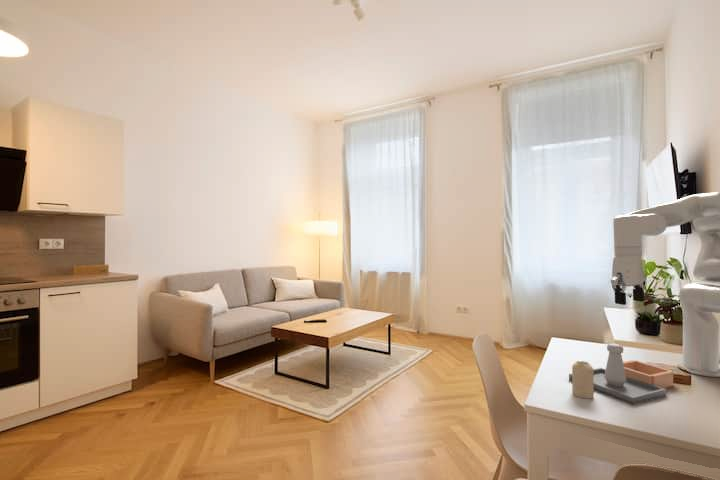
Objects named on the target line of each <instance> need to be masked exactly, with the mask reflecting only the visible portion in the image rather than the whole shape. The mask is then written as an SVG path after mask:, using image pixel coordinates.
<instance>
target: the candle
mask: <svg viewBox="0 0 720 480" xmlns="http://www.w3.org/2000/svg"><path fill="white" fill-rule="evenodd" d="M571 367H572V372H571V373H572V381H571V383H572V384H571V385H572V388H571V389H572V394H573V395H574V396H575V397H577V398H582V399H587V400H588V399H589V400H590V399H593V398H594V393H595V390H594V369H595V368H594V367H593V366H592V365H591V364H590V363H589V362H587V361H584V360H583V361H579V360H577V361H576V362H574V363H573V364H572V366H571Z"/></svg>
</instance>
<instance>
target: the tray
mask: <svg viewBox="0 0 720 480" xmlns="http://www.w3.org/2000/svg"><path fill="white" fill-rule="evenodd" d="M593 369H594V391H596V392H598V393H602V394H605V395H607V396H609V397H612V398H614V399H617V400H619V401H621V402H624V403H627V404H630V405H632V406H633V405H637V404H641V403H645V402H648V401H649V402H650V401H653V400H656V399H659V398H663V397H666V396H667V388H661V387H658V386H655V385H652V384H648V383H645V382H642V381H639V380H636V379H633V378H630V377H627V376H626V382H625V383H624V385H623V386H622V387H614V386H611V385H609V384H608V383H607V381H606V379H605V377H604V375H605V370H606V368H603V367H597V368H593ZM568 381H571V382H572V372H571V373H569V374H568Z"/></svg>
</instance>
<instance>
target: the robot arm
mask: <svg viewBox="0 0 720 480" xmlns="http://www.w3.org/2000/svg"><path fill="white" fill-rule="evenodd" d="M691 221H692V224H693V227H694V229H695V230H696V232H697V233H698V237H699V239H700V242H701V245H700V249H699V253H698V255H697V258H696V261H695V264H694V266H693V271H692V275H693V277H694V278H695V279H696V280H698V281H700V282H703V283H687V284H685V285H683V286H682V287H681V288H680V289H679V293H678V294H679V295H678V297H679V302H680V306H681V310H682V311H681V312H682V362H678V363H677V365H678V366H682V367H684V368H686V369H687V370H688V371H689V372H690V374H694V375H697V376H703V377H711V378H720V325H719V320H718V319H717V318H716V316H715V314H714V313H716V314H720V191H714V192H705V193H704V192H703V193H696V194H691V195H687V196H685V197H681V198H680V199H677V200H676V199H675V200H674V201H673V200H672V201H671V202H668V203H664V204H660V205H659V204H658V205H655V206H652V207H648V208H644V209H640V210H636V211H632V212H629V213H627V214H624V215H617V216H615V217H614V219H613V221H612V222H613V244H614V246H613V248H614V249H613V251H614V256H613V260H612V269H611V270H612V271H611V279H610V283H611V287H612V289H613V292H614V303H615V304H616V305H622V306H625V305H627V294H626V292H625V291H626V289H627V287H633V288H632V299H633V301H636V302H641V303H642V302H643V303H644V302H645V289H646V287H645V286H646V284H647V281H646V280H647V275H645V273H644V272H645V271H644V263H643V242H642V241H643V238H642V237H656V236H659V235H662V234H663V233H664V232H665V231H666V229H667V228H672V227H678V226H681V225H683V224H686V223H689V222H691ZM706 283H707V284H706ZM708 283H709V284H708ZM710 283H711V284H710ZM715 284H719V285H715ZM677 365H676V366H677ZM689 372H688V373H689Z"/></svg>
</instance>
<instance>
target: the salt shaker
mask: <svg viewBox="0 0 720 480" xmlns="http://www.w3.org/2000/svg"><path fill="white" fill-rule="evenodd" d="M606 350H607V351H608V357H607V362H606V367H605V369H606V370H605V375H604V377H605V379H606V381H607V383H608V384H609V385H611V386H614V387H622V386H623V385H624V383H625V382H626V375H625V370H624V365H623V362H624V361H623V356H622V355H623V353H624V347H623V345H621V344H618V343H608V344H607V347H606Z"/></svg>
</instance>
